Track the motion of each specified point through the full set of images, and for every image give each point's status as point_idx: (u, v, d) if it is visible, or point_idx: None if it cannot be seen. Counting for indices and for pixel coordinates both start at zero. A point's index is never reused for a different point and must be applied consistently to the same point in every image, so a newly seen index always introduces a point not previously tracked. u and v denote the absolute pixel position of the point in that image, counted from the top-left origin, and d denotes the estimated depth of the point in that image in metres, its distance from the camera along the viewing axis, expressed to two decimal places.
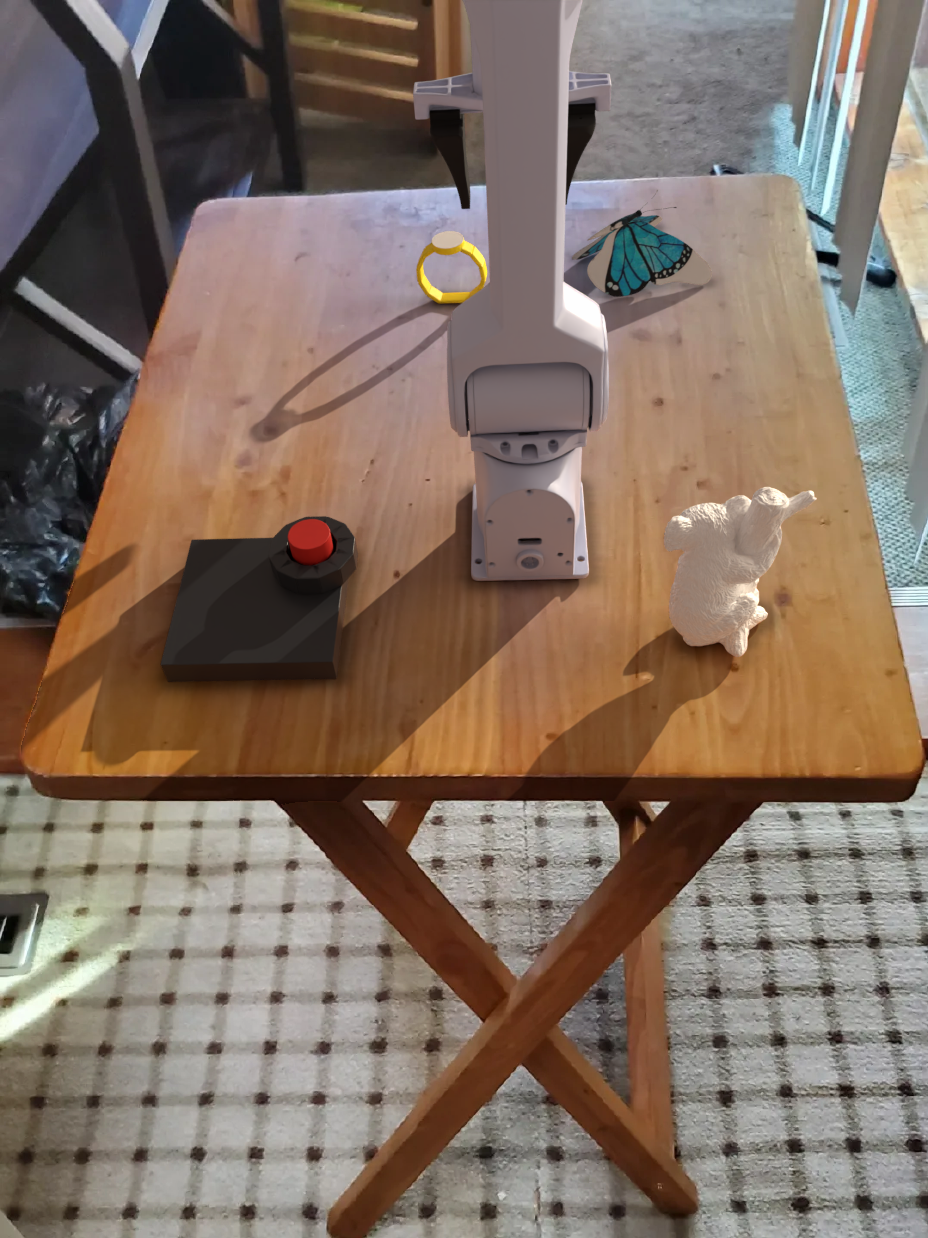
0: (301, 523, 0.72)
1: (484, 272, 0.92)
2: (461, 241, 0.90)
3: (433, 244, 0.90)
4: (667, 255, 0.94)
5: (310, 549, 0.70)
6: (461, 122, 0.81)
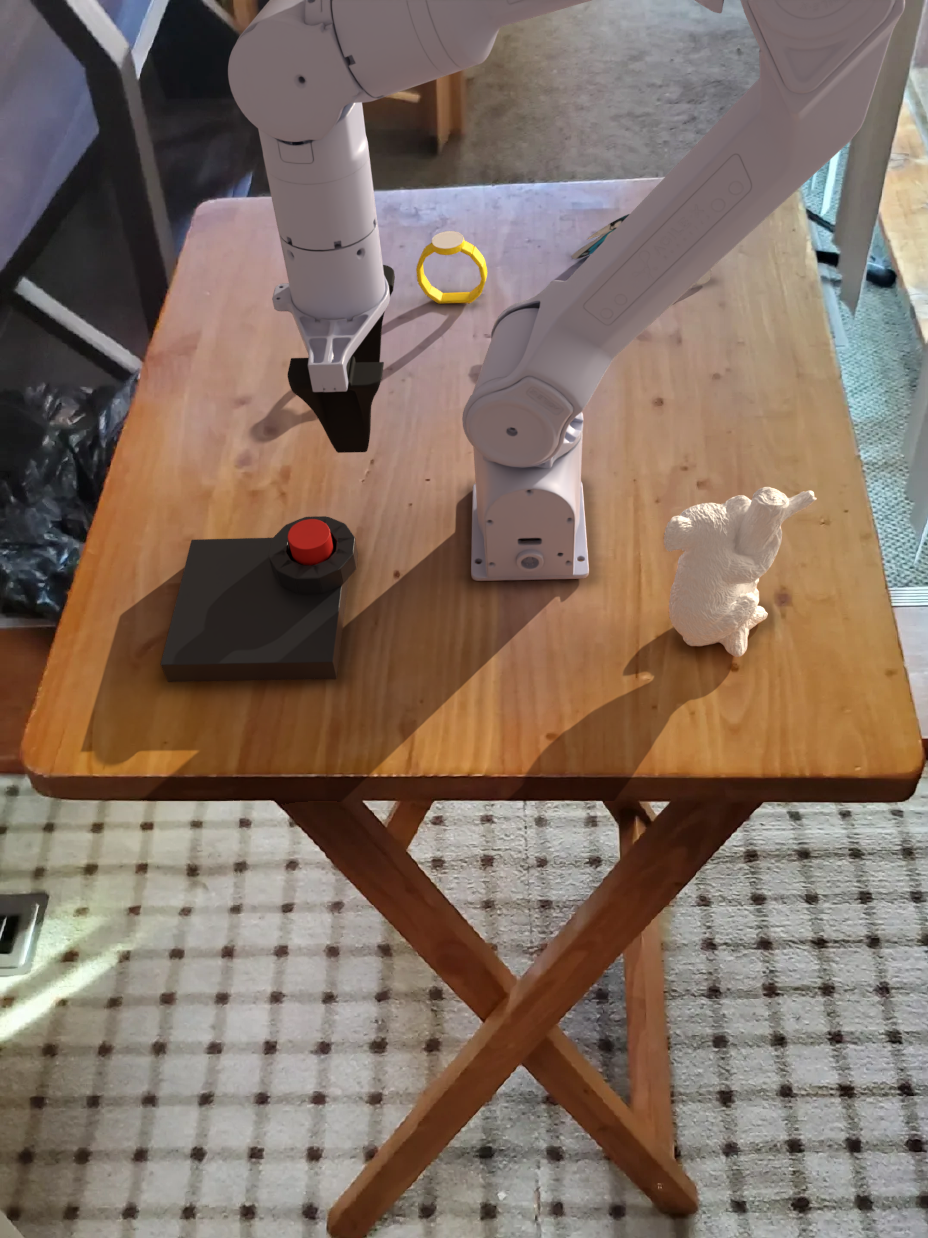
0: (301, 523, 0.72)
1: (484, 272, 0.92)
2: (461, 241, 0.90)
3: (433, 244, 0.90)
4: None
5: (310, 549, 0.70)
6: (354, 359, 0.64)
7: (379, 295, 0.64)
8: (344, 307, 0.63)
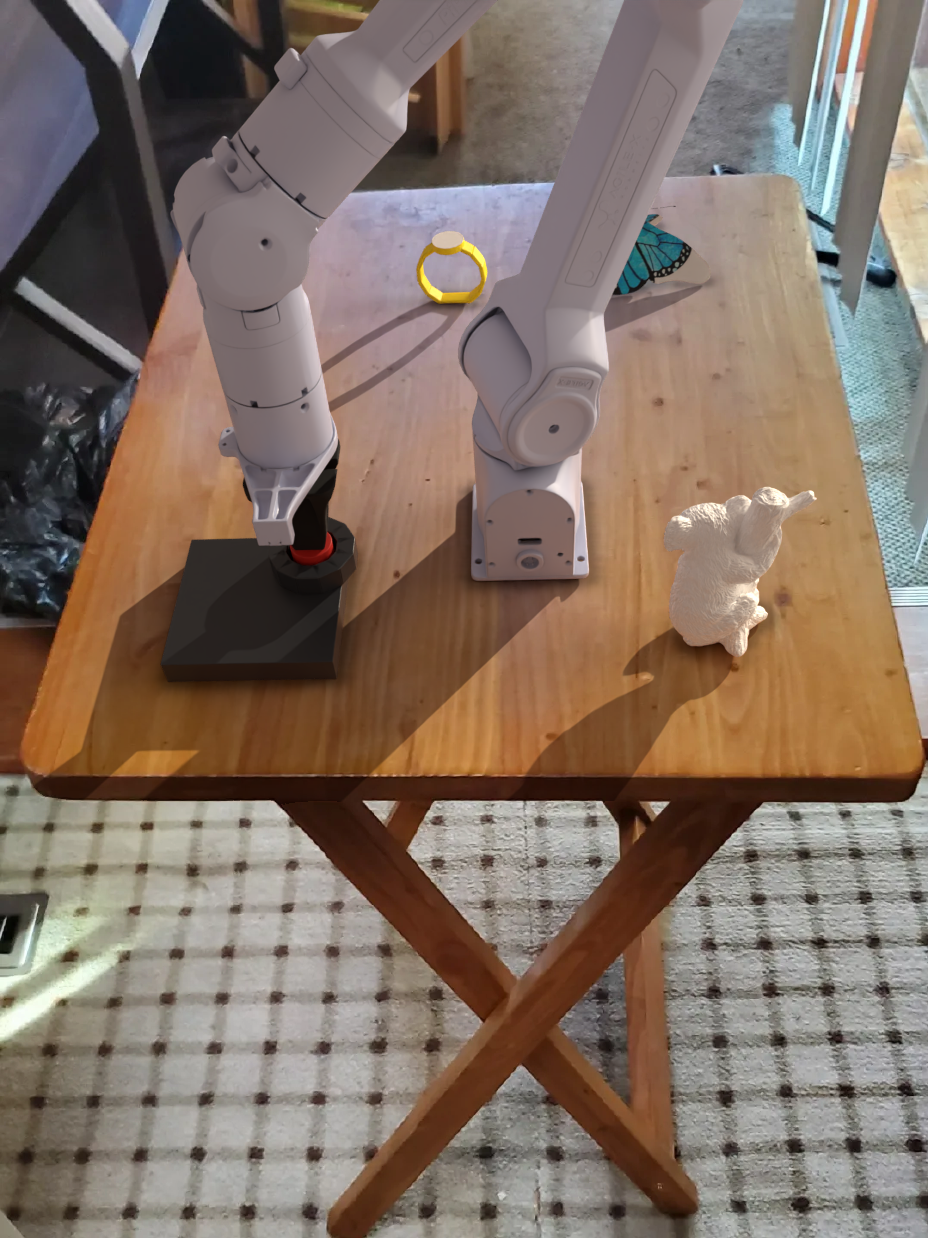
0: None
1: (484, 272, 0.92)
2: (461, 241, 0.90)
3: (433, 244, 0.90)
4: (666, 254, 0.94)
5: (312, 557, 0.71)
6: None
7: (326, 442, 0.63)
8: (290, 457, 0.62)
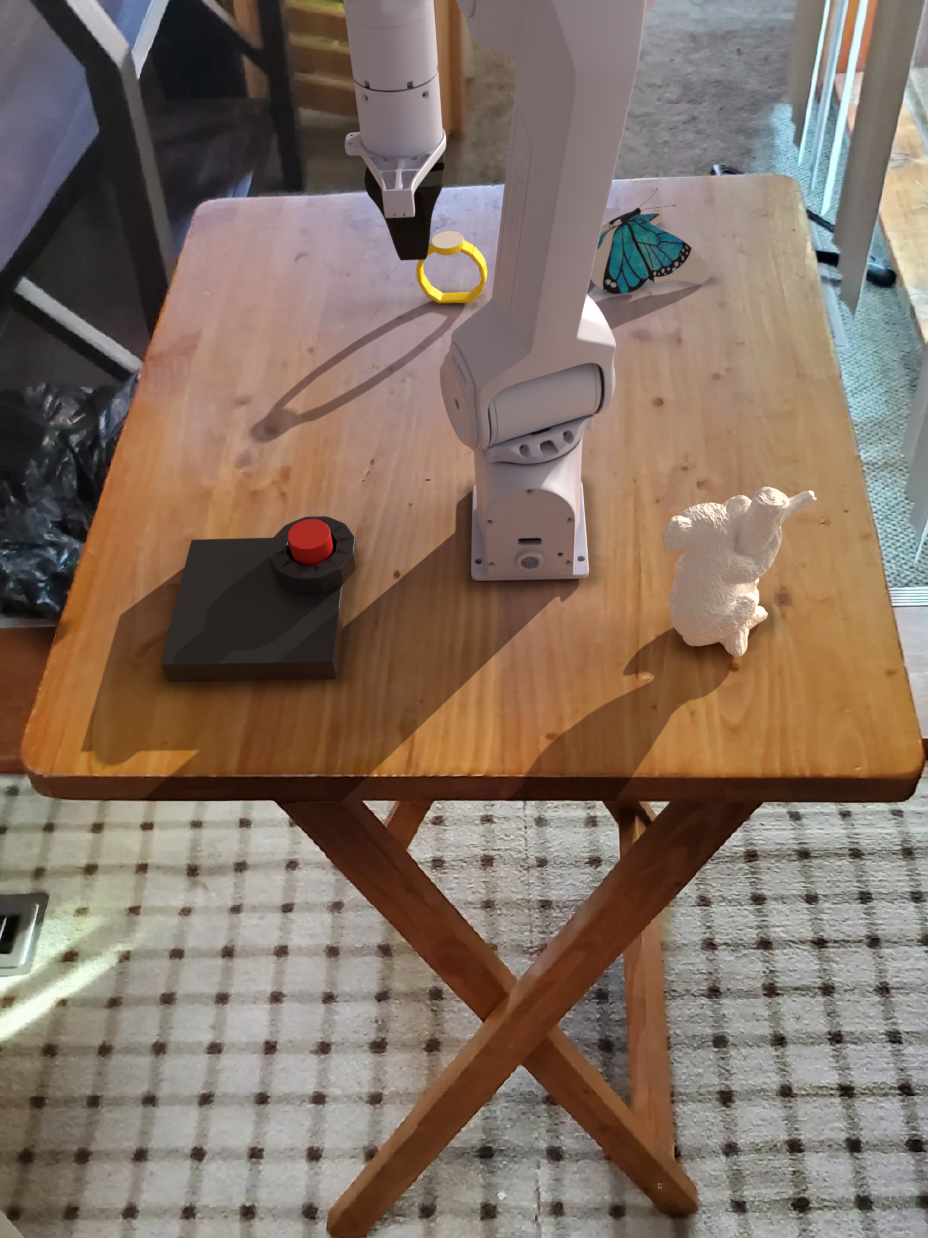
0: (301, 523, 0.72)
1: (484, 272, 0.92)
2: (461, 241, 0.90)
3: (433, 244, 0.90)
4: (666, 253, 0.94)
5: (310, 549, 0.70)
6: None
7: (438, 138, 0.74)
8: (409, 146, 0.73)
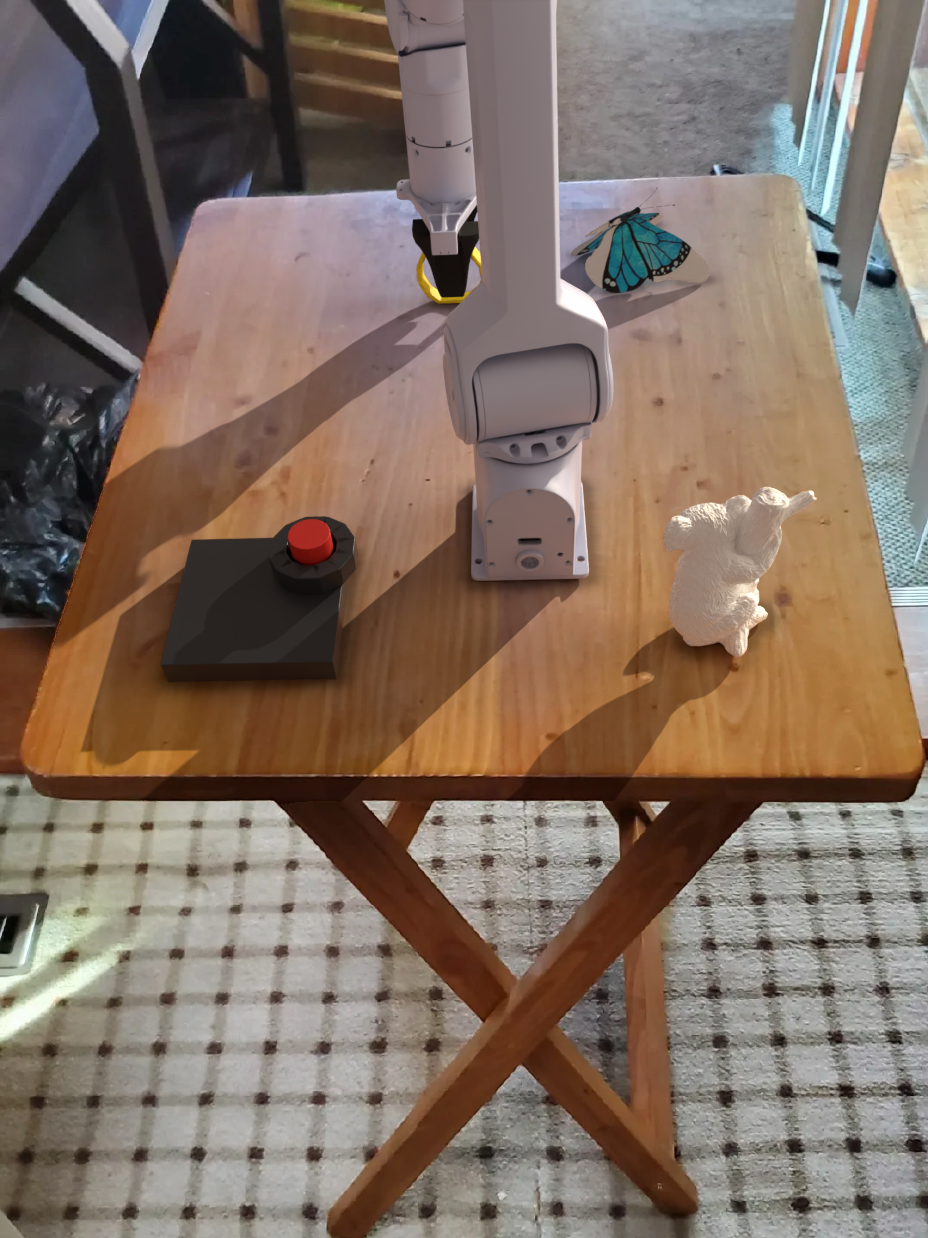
0: (301, 523, 0.72)
1: None
2: None
3: None
4: (665, 253, 0.94)
5: (310, 549, 0.70)
6: None
7: None
8: (453, 193, 0.85)
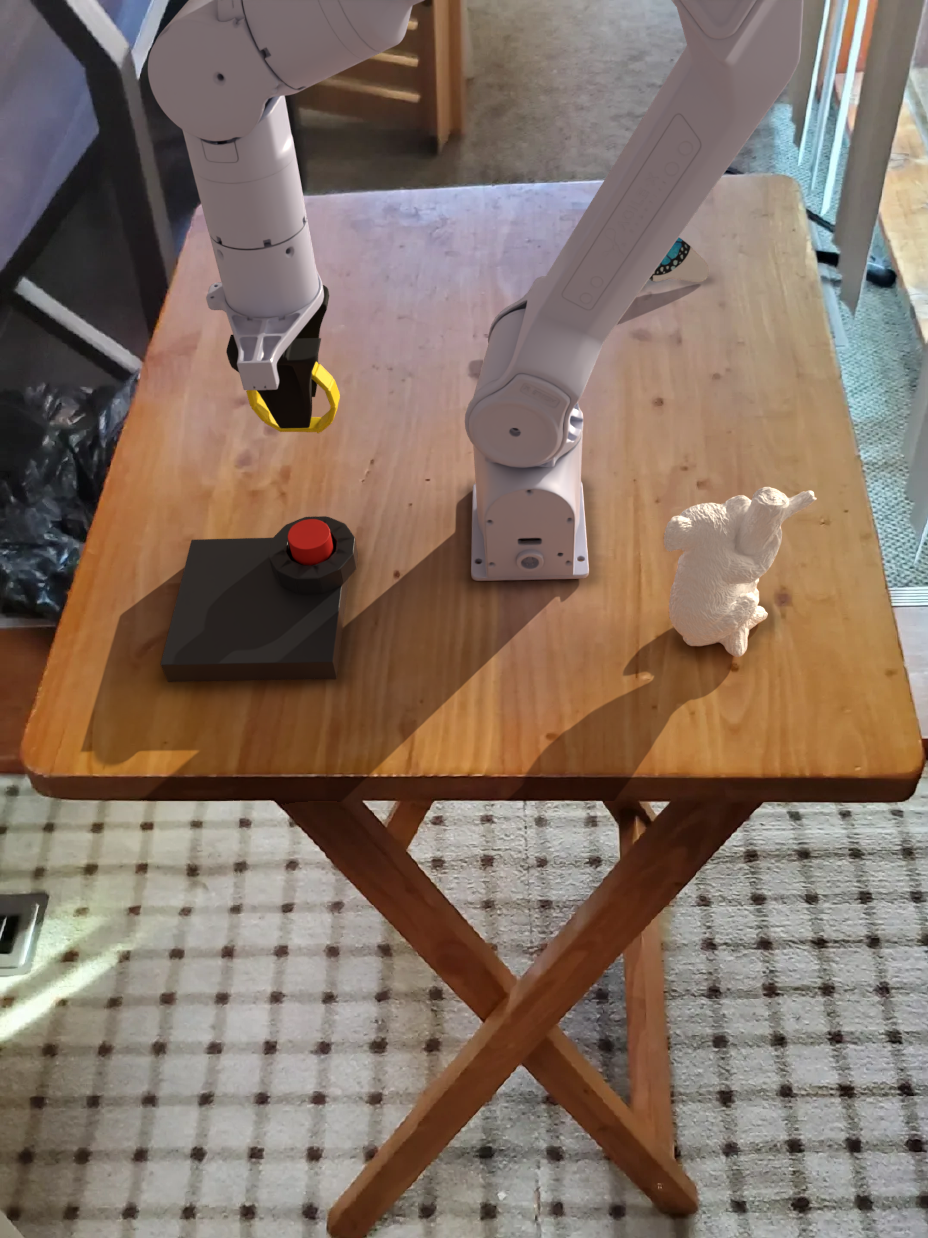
0: (301, 523, 0.72)
1: (333, 397, 0.71)
2: None
3: None
4: None
5: (310, 549, 0.70)
6: None
7: (311, 294, 0.64)
8: (275, 306, 0.63)
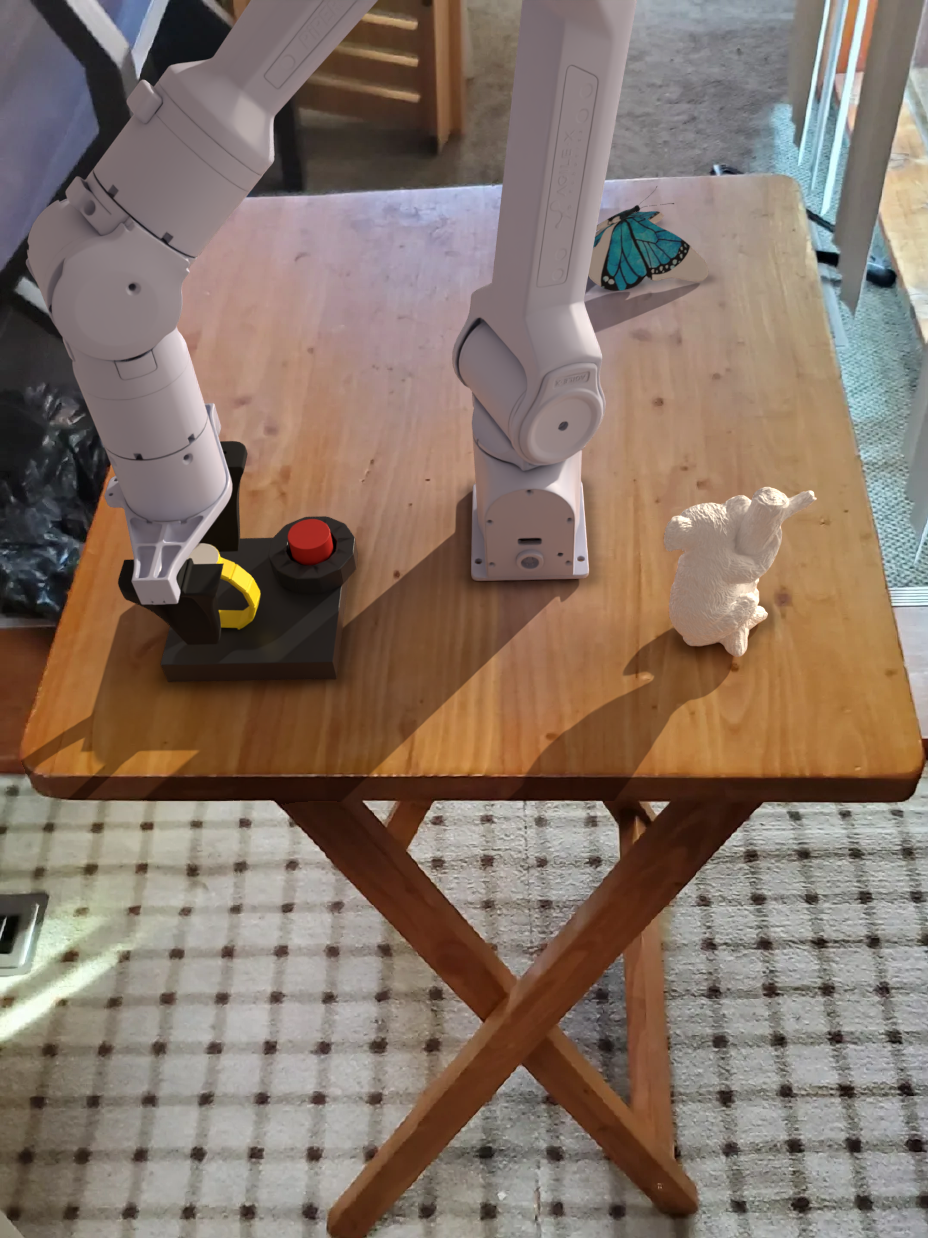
0: (301, 523, 0.72)
1: (252, 597, 0.67)
2: (214, 563, 0.65)
3: None
4: (664, 251, 0.94)
5: (310, 549, 0.70)
6: (191, 560, 0.60)
7: (217, 492, 0.60)
8: (176, 510, 0.59)
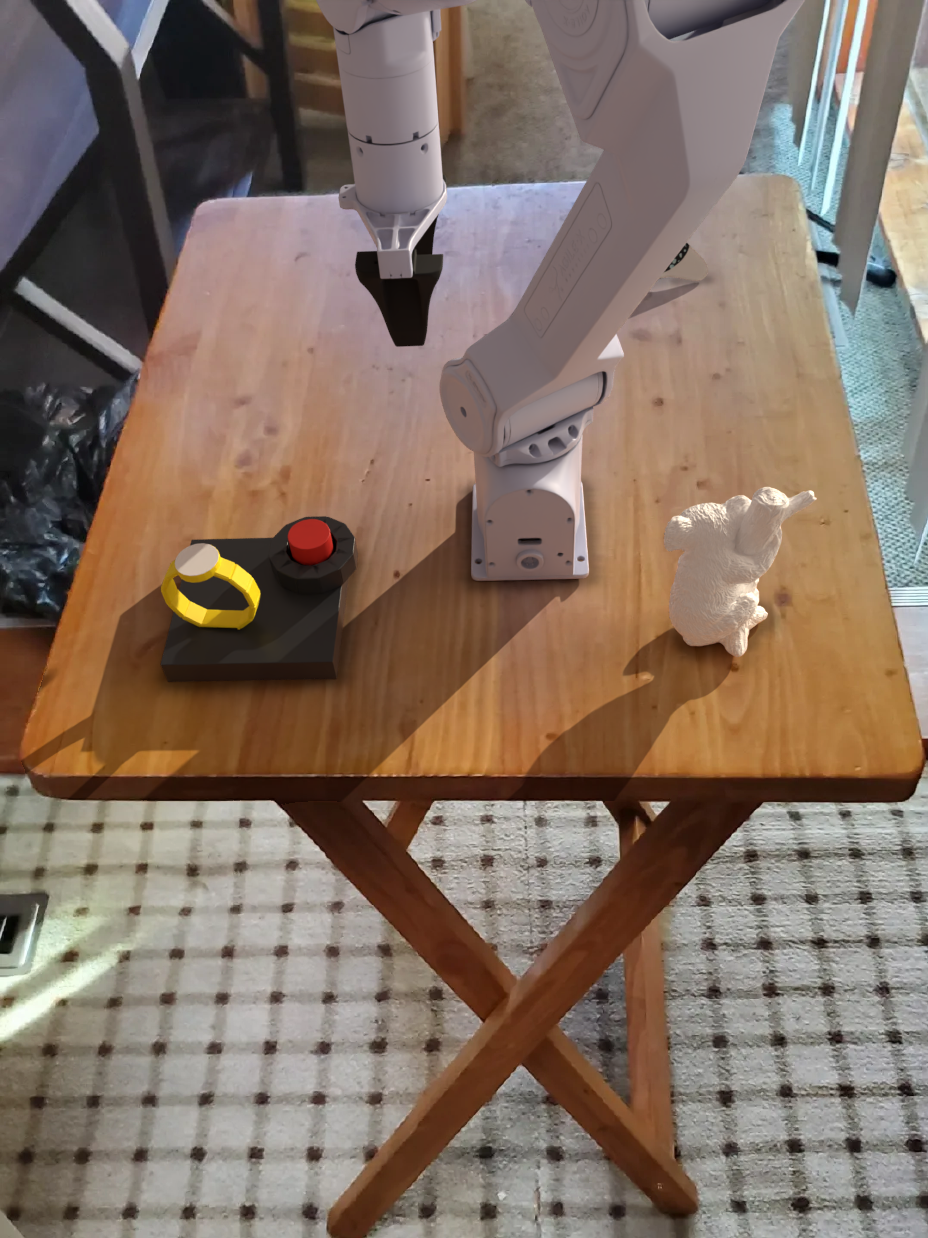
0: (301, 523, 0.72)
1: (252, 597, 0.67)
2: (214, 563, 0.65)
3: (176, 566, 0.65)
4: None
5: (310, 549, 0.70)
6: (415, 252, 0.70)
7: (438, 192, 0.69)
8: (407, 201, 0.68)
